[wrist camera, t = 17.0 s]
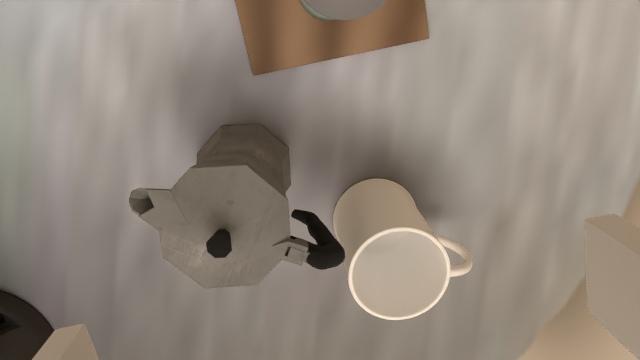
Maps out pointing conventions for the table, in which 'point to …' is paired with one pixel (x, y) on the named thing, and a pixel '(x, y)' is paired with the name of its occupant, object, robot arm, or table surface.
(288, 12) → the pad
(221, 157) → the coffeepot
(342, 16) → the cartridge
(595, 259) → the robot arm
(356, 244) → the mug
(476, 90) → the table surface
